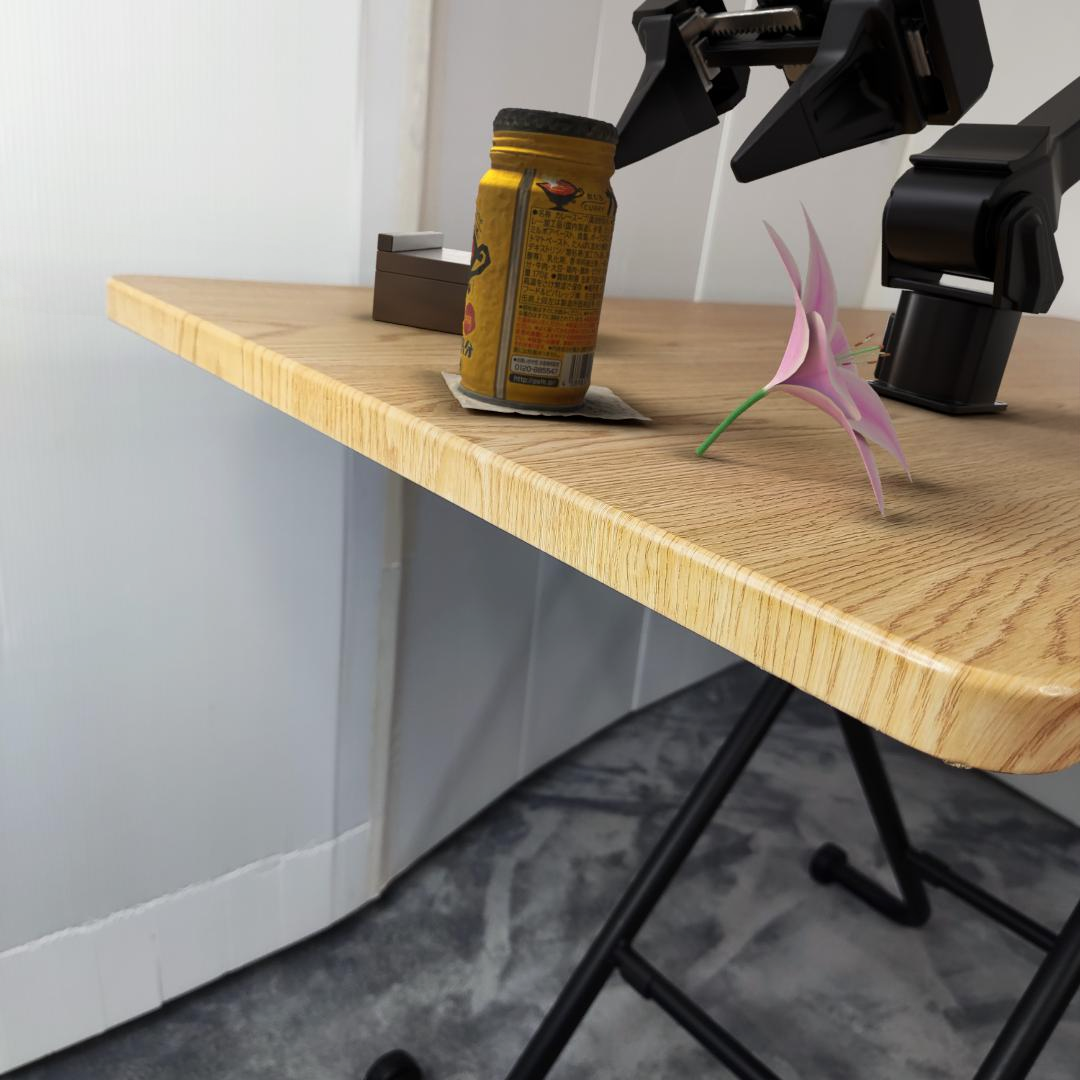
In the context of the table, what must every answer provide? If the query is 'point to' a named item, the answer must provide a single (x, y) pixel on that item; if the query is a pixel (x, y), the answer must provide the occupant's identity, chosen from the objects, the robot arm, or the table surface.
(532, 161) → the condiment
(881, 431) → the lily
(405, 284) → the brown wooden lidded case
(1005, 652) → the table surface
